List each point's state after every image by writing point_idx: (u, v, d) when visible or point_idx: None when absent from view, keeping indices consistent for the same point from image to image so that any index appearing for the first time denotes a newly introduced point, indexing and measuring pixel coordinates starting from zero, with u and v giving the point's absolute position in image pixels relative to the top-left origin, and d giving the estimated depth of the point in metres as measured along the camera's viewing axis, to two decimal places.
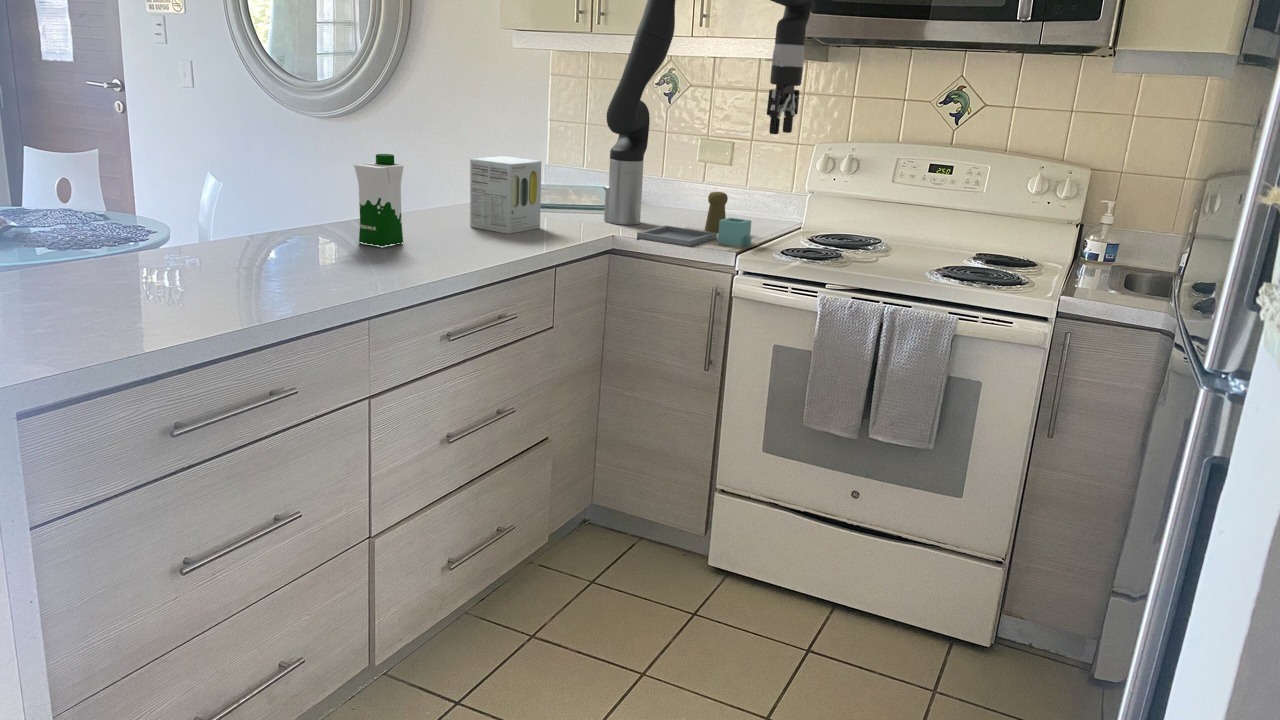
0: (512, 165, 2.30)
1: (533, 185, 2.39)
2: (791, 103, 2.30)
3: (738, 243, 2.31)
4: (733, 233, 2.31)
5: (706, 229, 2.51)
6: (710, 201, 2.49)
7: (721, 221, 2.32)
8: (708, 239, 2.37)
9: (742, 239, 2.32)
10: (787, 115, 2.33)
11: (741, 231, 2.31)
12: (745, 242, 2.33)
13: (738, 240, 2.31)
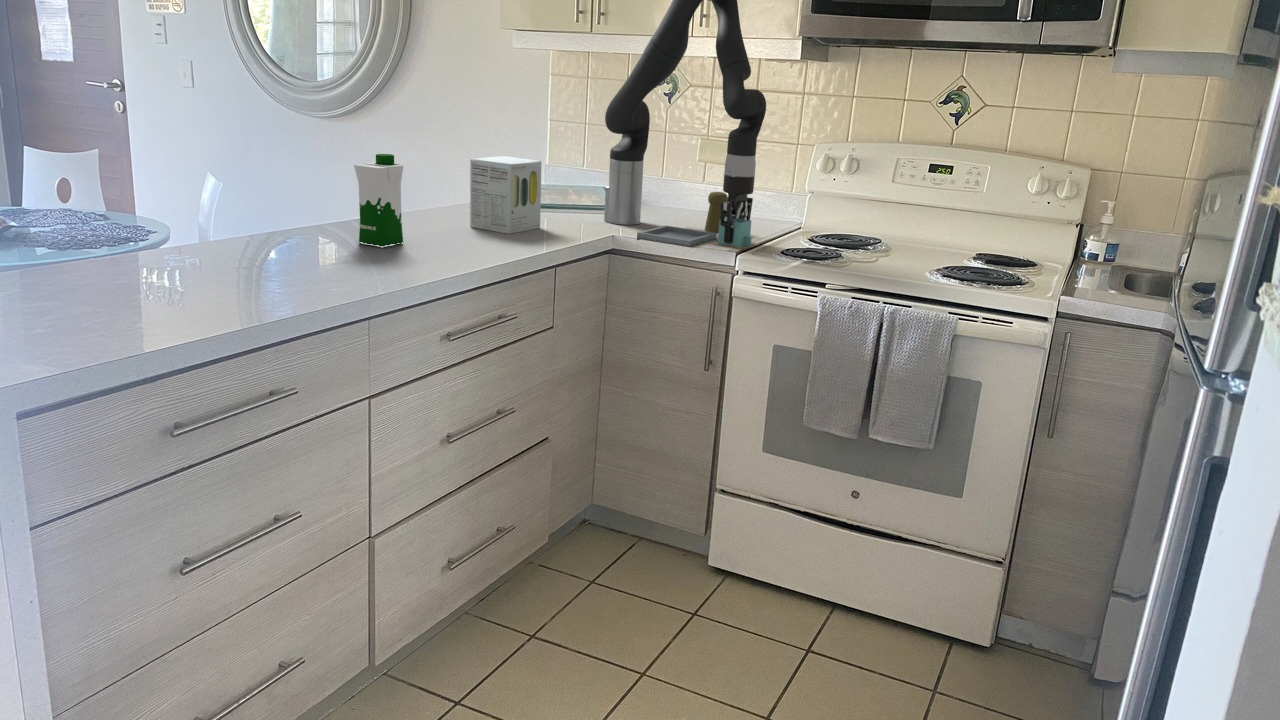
0: (512, 165, 2.30)
1: (533, 185, 2.39)
2: (743, 210, 2.33)
3: (738, 243, 2.31)
4: None
5: (706, 229, 2.51)
6: (710, 201, 2.49)
7: None
8: (708, 239, 2.37)
9: (742, 239, 2.32)
10: None
11: (741, 231, 2.31)
12: (745, 242, 2.33)
13: (738, 240, 2.31)
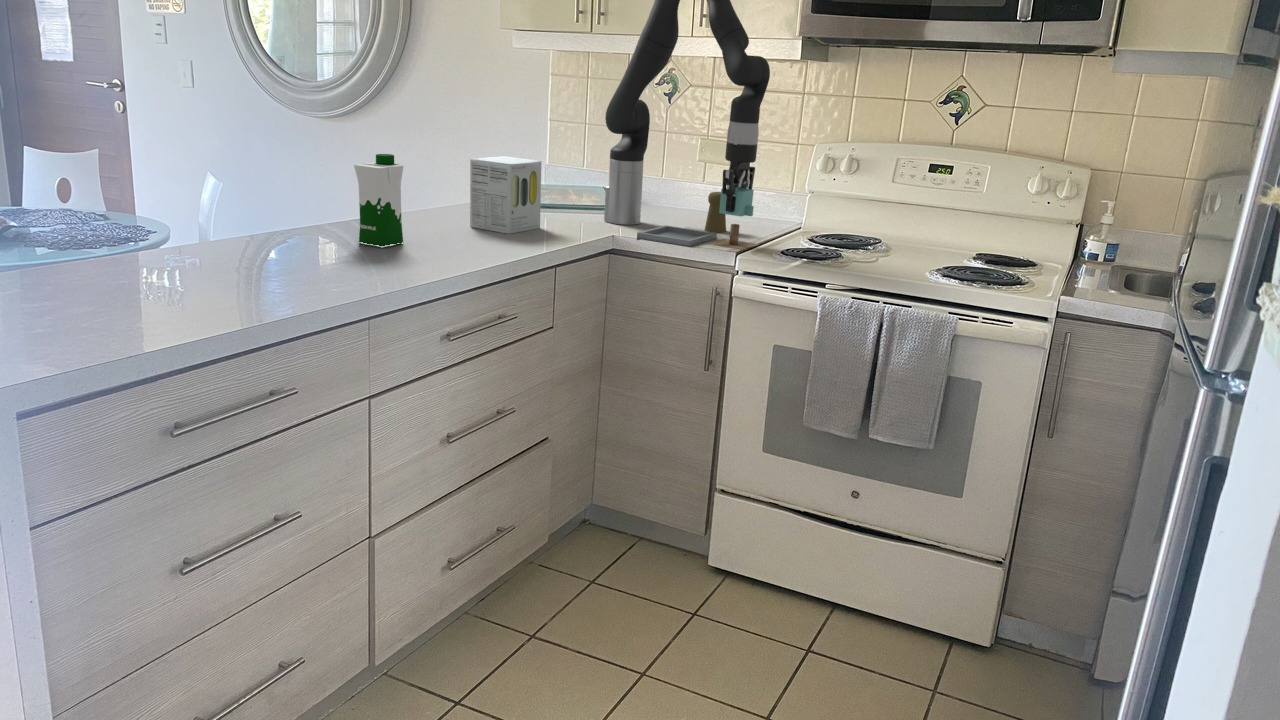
0: (512, 165, 2.30)
1: (533, 185, 2.39)
2: (746, 179, 2.31)
3: (740, 212, 2.29)
4: (735, 202, 2.29)
5: (706, 229, 2.51)
6: (710, 201, 2.49)
7: None
8: (708, 239, 2.37)
9: (744, 208, 2.30)
10: None
11: (743, 200, 2.29)
12: (747, 211, 2.31)
13: (740, 209, 2.29)
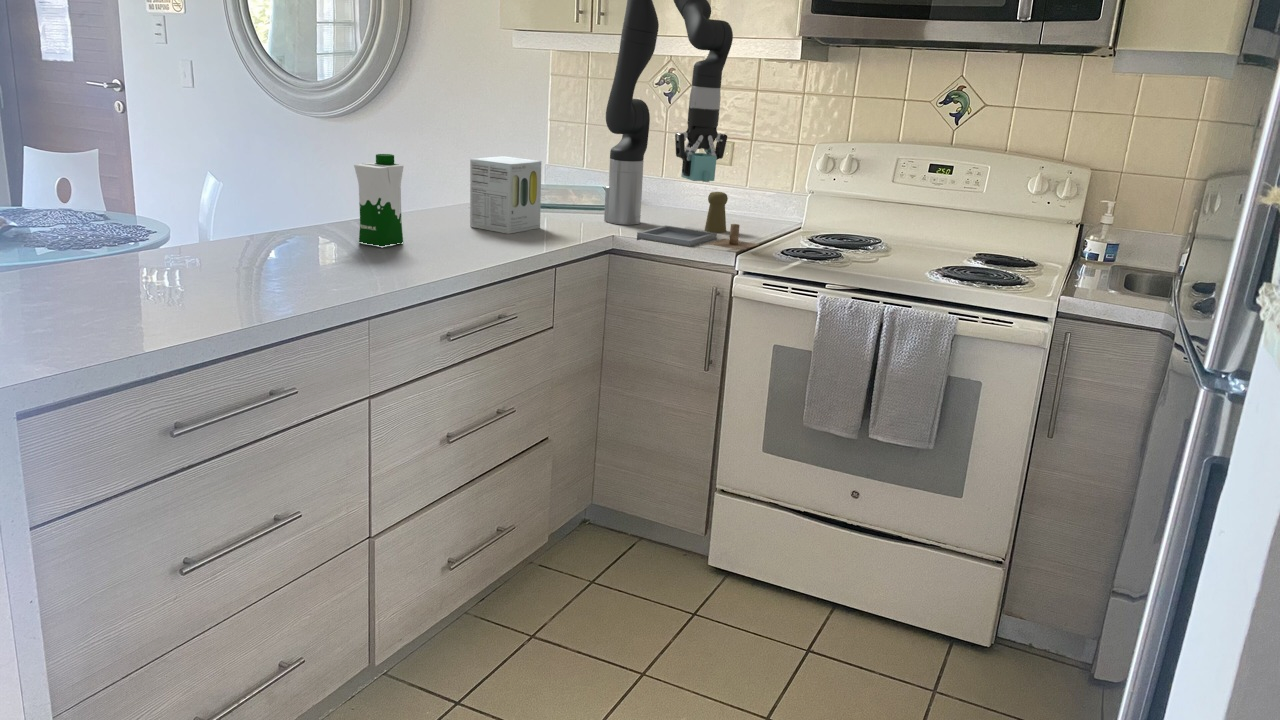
0: (512, 165, 2.30)
1: (533, 185, 2.39)
2: (708, 145, 2.30)
3: (693, 176, 2.29)
4: (691, 166, 2.30)
5: (706, 229, 2.51)
6: (710, 201, 2.49)
7: None
8: (708, 239, 2.37)
9: (699, 173, 2.30)
10: None
11: (696, 164, 2.29)
12: (703, 177, 2.30)
13: (693, 173, 2.29)
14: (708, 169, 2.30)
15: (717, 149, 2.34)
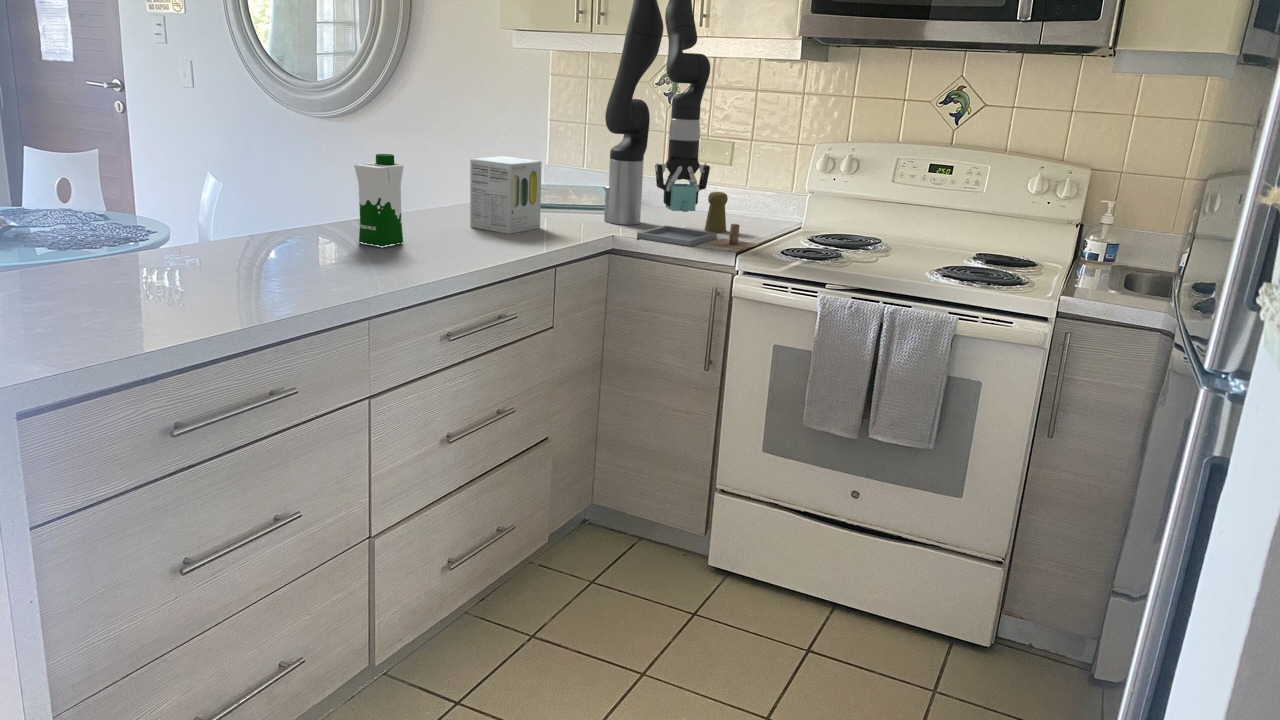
0: (512, 165, 2.30)
1: (533, 185, 2.39)
2: (689, 175, 2.33)
3: (672, 206, 2.33)
4: None
5: (706, 229, 2.51)
6: (710, 201, 2.49)
7: None
8: (708, 239, 2.37)
9: (678, 203, 2.33)
10: None
11: (675, 195, 2.32)
12: (682, 207, 2.33)
13: (672, 203, 2.33)
14: (688, 199, 2.33)
15: (701, 180, 2.36)
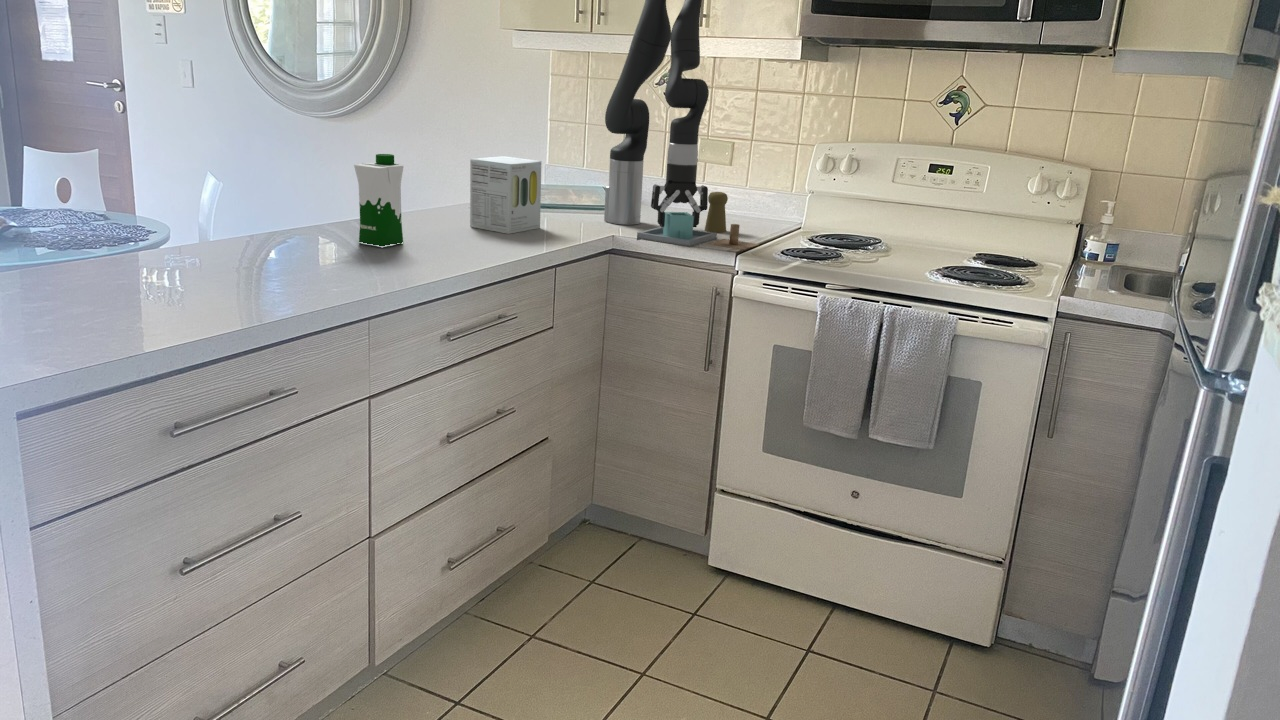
0: (512, 165, 2.30)
1: (533, 185, 2.39)
2: (688, 199, 2.35)
3: (669, 235, 2.35)
4: (668, 225, 2.36)
5: (706, 229, 2.51)
6: (710, 201, 2.49)
7: None
8: (708, 239, 2.37)
9: (675, 232, 2.35)
10: (694, 210, 2.38)
11: (672, 224, 2.34)
12: (679, 236, 2.35)
13: (669, 232, 2.35)
14: (685, 228, 2.35)
15: (702, 201, 2.38)
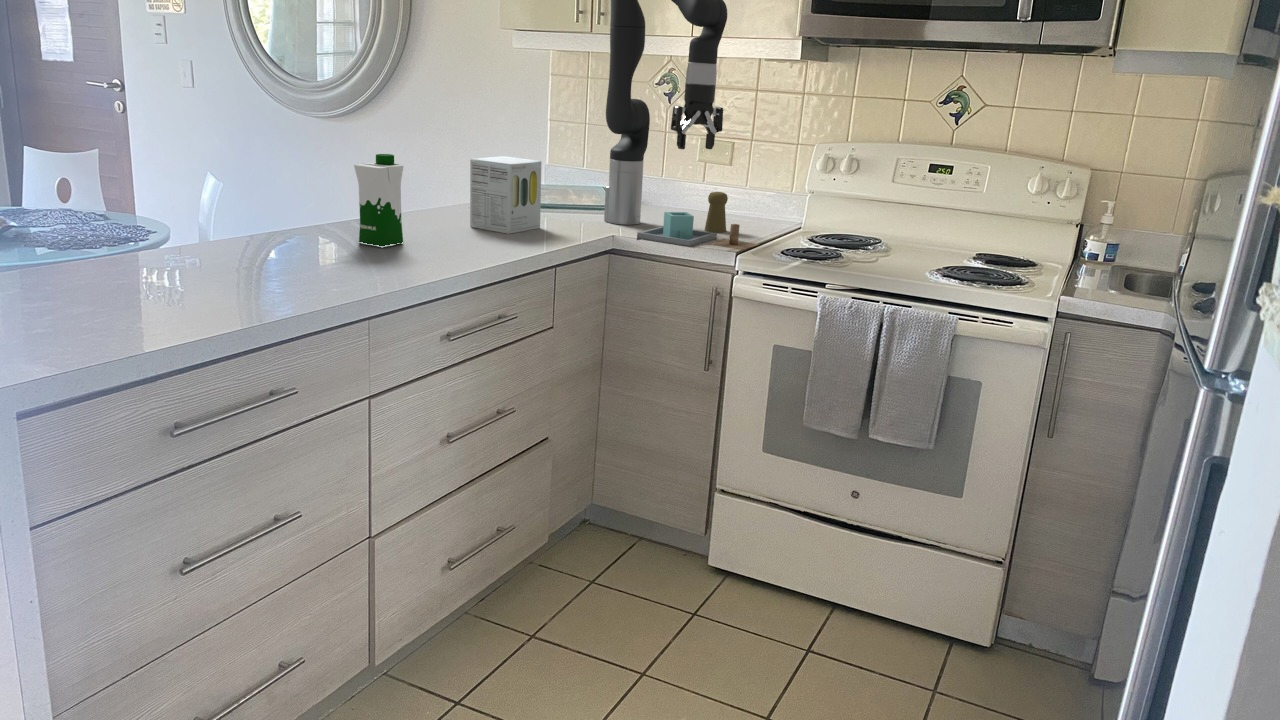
0: (512, 165, 2.30)
1: (533, 185, 2.39)
2: (706, 120, 2.34)
3: (669, 235, 2.35)
4: (668, 225, 2.36)
5: (706, 229, 2.51)
6: (710, 201, 2.49)
7: (664, 213, 2.38)
8: (708, 239, 2.37)
9: (675, 232, 2.35)
10: (709, 132, 2.38)
11: (672, 224, 2.34)
12: (679, 236, 2.35)
13: (669, 232, 2.35)
14: (685, 228, 2.35)
15: (715, 123, 2.38)
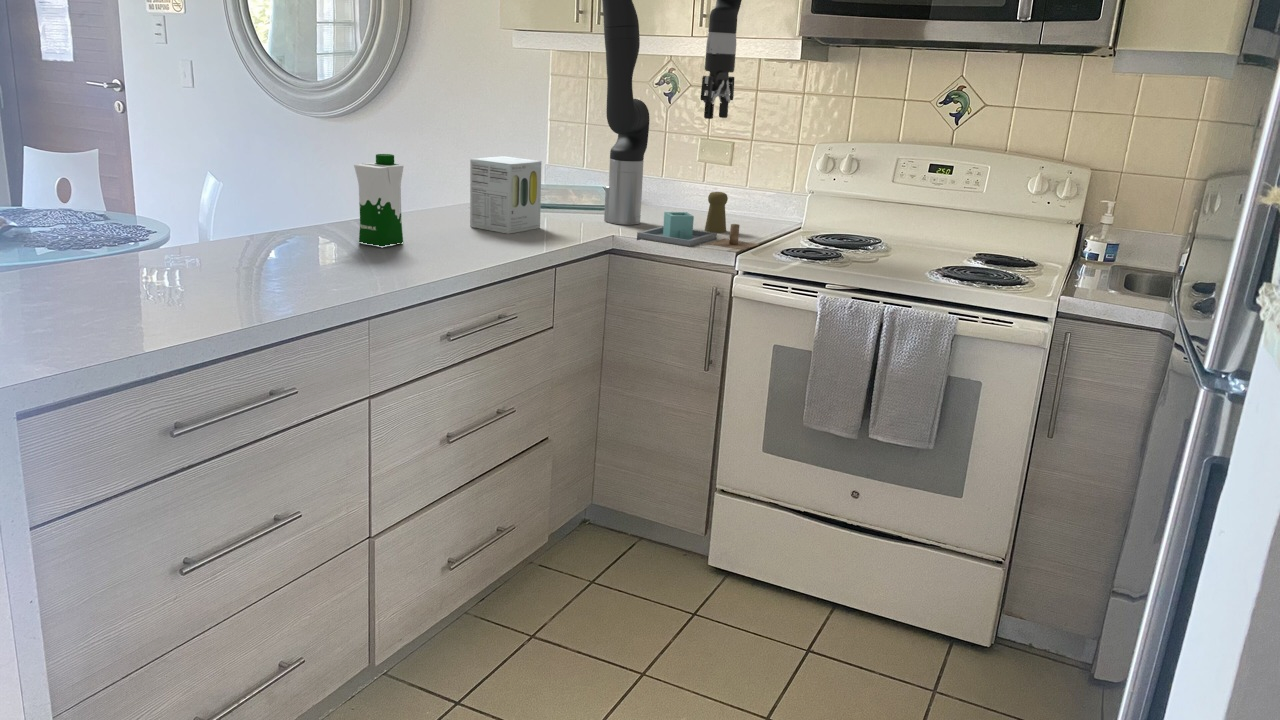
0: (512, 165, 2.30)
1: (533, 185, 2.39)
2: (725, 89, 2.40)
3: (669, 235, 2.35)
4: (668, 225, 2.36)
5: (706, 229, 2.51)
6: (710, 201, 2.49)
7: (664, 213, 2.38)
8: (708, 239, 2.37)
9: (675, 232, 2.35)
10: (723, 101, 2.44)
11: (672, 224, 2.34)
12: (679, 236, 2.35)
13: (669, 232, 2.35)
14: (685, 228, 2.35)
15: None
